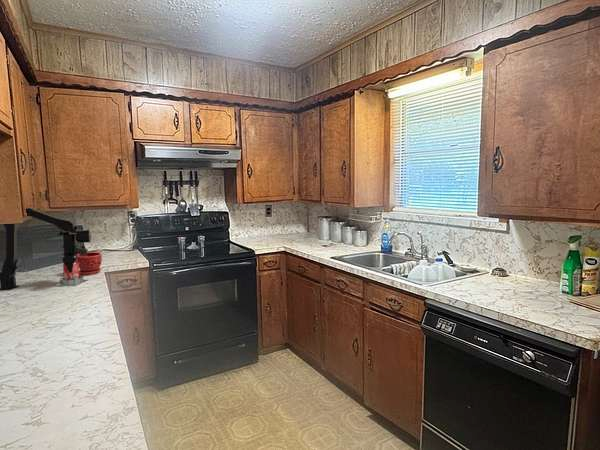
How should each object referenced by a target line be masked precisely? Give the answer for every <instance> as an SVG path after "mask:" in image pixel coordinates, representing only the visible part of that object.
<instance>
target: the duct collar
mask: <svg viewBox="0 0 600 450" xmlns="http://www.w3.org/2000/svg"><path fill="white" fill-rule="evenodd" d="M87 281H89V279H84V275H82V274H81V275H80V274H79V278H78V279H73V280H64V276H62V277H60V278H59V283H56V284H55V287H77V286H79V285H81V284H83V283H85V282H87Z"/></svg>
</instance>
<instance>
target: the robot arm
mask: <svg viewBox="0 0 600 450" xmlns="http://www.w3.org/2000/svg"><path fill="white" fill-rule="evenodd" d="M25 209H26V213H27V217H31V218H34V219H37V220H40V221H43V222H46V223H48V224H51V225H53V226H55V227H57V228H58V229H60V231H59V232H58V233H57V236H61V237H62V248H63V249H62V250H63V251H62V252H63V254H62V255H63V256H62V257H61V260H62V263H64V264H65V266H66V267H67V269H68V271H69V273H72V269H73V263H74V262H76V261H77V255H78V254H81V255H84V256H86V254H87V252H89V251H88V249H87V248H86V245H81V246H77V244H76V242H78V243H82V244H83V243H91V241H92V235H91V231H90V229H85V230H81V229H79V228H78V227H77V226H76V224H75V223H76V222H75V221H74V220H72V219H70V218H69V219H67V218H63V217H57V216H55V215H52V214H48V213H46V212H43V211H40V210H38V209H35V208H33V207H28V208H27V207H26V208H25ZM2 224H3V223H2ZM19 226H20V223H19V224H3V227H4V229H5V259H4V260H3V261H4V262H3V264H2V268H1V271H0V290H1V291H9V290H13V289H16V288H18V287H20V285H17V281H16V280H17V279H16V275H17V272H18V271H19V270H20V269H21V268H22V259H21V258H18V252H17V250H18V249H17V247H18V243H17V242H18V241H17V240H18V238H17V237H18V231H17V230H18V228H19Z"/></svg>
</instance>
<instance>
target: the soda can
mask: <svg viewBox="0 0 600 450" xmlns="http://www.w3.org/2000/svg"><path fill="white" fill-rule="evenodd" d="M62 263H63V262H62ZM62 267H63V268H62V269H63V277H64V280H73V279H78V278H79V275H80V273H79V270H80V269H79V267H78V262H77V260H76V262H74V263H73V269H72V273H69V271H68V269H67V267H66V266H65V264H64V263H63V264H62Z"/></svg>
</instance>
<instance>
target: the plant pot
mask: <svg viewBox="0 0 600 450" xmlns="http://www.w3.org/2000/svg"><path fill="white" fill-rule="evenodd" d="M102 258H103V257H102V253H101V252H98V251H97V252H96V251H87V254H86V256H84V255H81V254H77V257H76V259H77V260H76V261H77V262H78V268H79V275H80V274H81V276H90V275H96V274H99V273H100V272H101V271H102V270H101V268H100V267H101V265H102V260H103V259H102Z"/></svg>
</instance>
